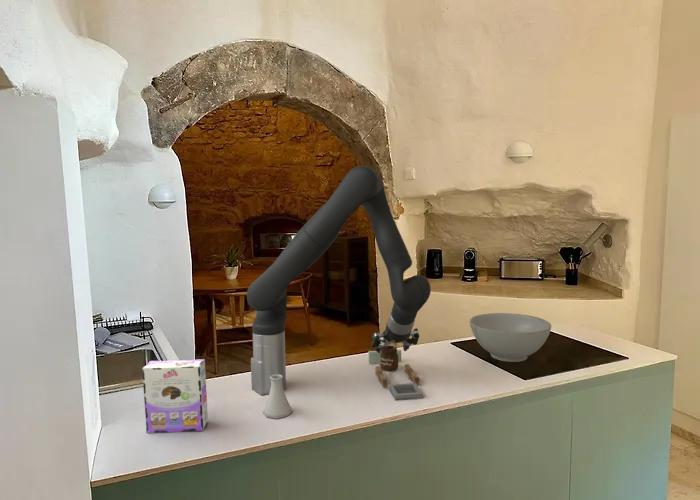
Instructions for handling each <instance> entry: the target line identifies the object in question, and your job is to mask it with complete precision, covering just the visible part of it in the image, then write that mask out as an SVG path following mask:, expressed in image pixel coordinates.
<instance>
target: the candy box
mask: <svg viewBox="0 0 700 500" xmlns="http://www.w3.org/2000/svg"><path fill="white" fill-rule="evenodd" d="M141 373H142V385H143V399H144V401H143V402H144V411H145V412H144V414H145V426H146V427H145V429H146V430H145V432H146V434H155V433H177V432H178V433H181V432H202V431H203V430H204V429H205V428H206V426H207V424H208V422H209V413H208V395H207V393H208V392H207V378H206V377H207V376H206V375H207V374H206V359H205V358H203V359H199V358H198V359H176V360H150V361H149V362H148V363H146V365H144V366H143V367H142V369H141Z"/></svg>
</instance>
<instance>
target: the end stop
mask: <svg viewBox="0 0 700 500" xmlns="http://www.w3.org/2000/svg"><path fill="white" fill-rule="evenodd" d="M367 353H368V354H367V355H368V360H367V361H368V365H377V364H379V365H380V354H381V352H380V353H378V352H376V350H368V352H367ZM397 354H398V363H402V349H399V348H397Z"/></svg>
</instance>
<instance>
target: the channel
mask: <svg viewBox="0 0 700 500" xmlns="http://www.w3.org/2000/svg"><path fill="white" fill-rule="evenodd" d="M374 369H375V371H374V372H375V373H374V374H375V376H376V378H377V379H378V381H379V383H380V385H381V387H382V389H388V379H387V377H386V375H385V373H384V372H383V370H381V368H380V365H377V366H375V368H374ZM404 373H405V374H406V376H407V377H408V378H409V380H410V381H411V383H416V384H417V386H418V387H420V377H419V376H418V375H417V373H416V372H415V370H414V369H413V368H412V367H411V365H410V364H408V363H407V364H404Z"/></svg>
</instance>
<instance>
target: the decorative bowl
mask: <svg viewBox="0 0 700 500" xmlns="http://www.w3.org/2000/svg"><path fill="white" fill-rule="evenodd" d="M469 326H470V329H471V332H472V335H473V337H474V338H475V341H477V343H478V344H479V346H481V347H482V349H484V350H485V351H487V352H488V353H490V356H491V358H493V359H495V360H499V361H502V362H508V363H509V362H510V363H514V362H515V363H516V362H517V363H518V362H524V361H526V360H527V359H528V357H529V356H531V355H533V354H534V353H537V352H538V351H539V350H540V349H541V348H542V347H543V345H544V344H545V342H546V341H547V339H548V337H549V335H550V332H551V329H552V324H551V322H549V321H547V320H545V319H543V318H540V317H537V316H533V315H528V314H520V313H512V312H511V313H509V312H506V313H505V312H493V313H492V312H491V313H483V314H478V315H475V316H472V317H471V318H470V319H469Z"/></svg>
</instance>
